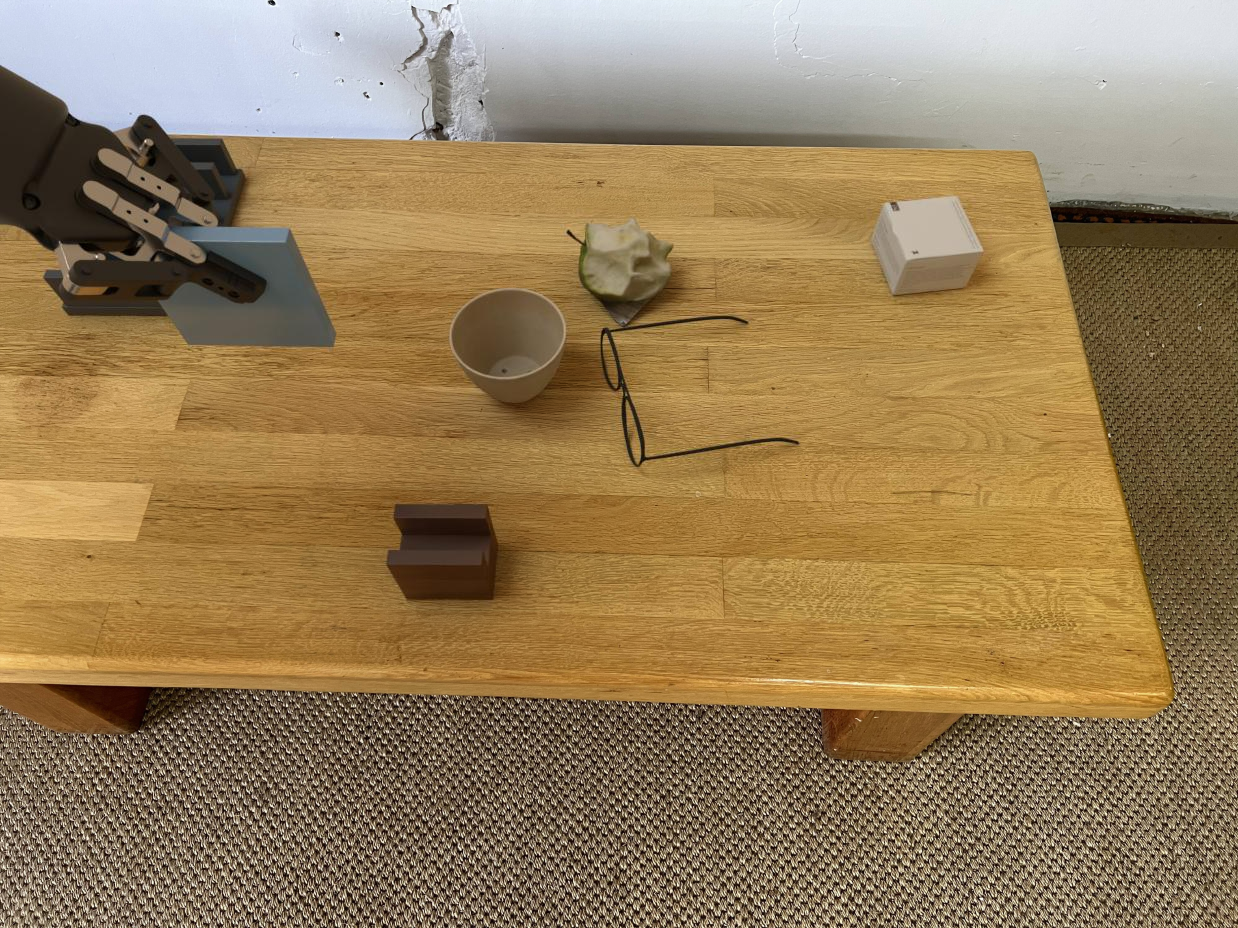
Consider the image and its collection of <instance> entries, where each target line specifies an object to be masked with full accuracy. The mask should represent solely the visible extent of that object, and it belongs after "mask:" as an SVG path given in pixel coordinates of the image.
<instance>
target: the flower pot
mask: <svg viewBox="0 0 1238 928" xmlns="http://www.w3.org/2000/svg"><path fill="white" fill-rule="evenodd" d="M448 334H449V335H448V338H449V346H450V350H451V352H452V354H453V356H454V358H455V361H456V362H457V363H458V366H459V367H460V368H461V370H462V371H463V373H464V374H465V375H466V376H467V378H469V380H470V381H471V382H472V383H473V384H474V385H475V386H476V387H477V388H478V389H479V390H481V391H482V392H484V393H485V394H487V395H489V396H490V397H492V398H494V399H496V400H499V401H501V402H505V403H508V404H509V403H510V404H521V403H524V402H527V401H529V400H532V399H533V398H534V397H536V396H537V395H539V394H540V393H541V392H542V391H543V390H544V389H545V388H546V387H547V386H548V384H549V383H550V382H551V381H552V379H553V377H554V376H555V374H556V372H557V370H558V368H559V366H560V364H561V361H562V358H563V354H564V352H565V347H566V343H567V342H566V341H567V323H566V319H565V317H564V315H563V312H562V311H561V310H560V308H559V306H557V304H556V303H555V302H553V301H552V300H551V299H549V298H548V297H547V296H545V295H543V294H541V293H539V292H537V291H534V290H530V289H528V288H527V289H526V288H521V287H501V288H495V289H492V290H488V291H485V292H483V293H481V294H478V295H477V296H475V297H473V298H472V299H470V300H469V301H467V302H466V303H465V304H464V305H463V306H462V307H461V308H460V309H459V310H458V312H457V313H455V316H454V318H453V319H452V322H451V324H450V328H449V332H448Z"/></svg>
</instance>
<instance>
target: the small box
mask: <svg viewBox="0 0 1238 928" xmlns="http://www.w3.org/2000/svg"><path fill="white" fill-rule="evenodd" d="M870 241H871V244H872V247H873V249H874V251H875V254H876V257H877V260H878V262H879V264H880V267H881V269H882V272H883V275H884V277H885V279H886V281H887V285H888V287H889V290H890V292H891V295H892V296H899V295H900V296H901V295H909V294H918V293H926V292H928V293H929V292H937V291H945V290H957V289H964V288H966V287H967V285H968V283H969V281H970V280H971V277H972V275H973V273H974V272H975V269H976V267H977V266H978V264H979V262H980V260H981V258H982V256H983V253H984V252H985V250H984V248H983V245H982V244H981V241H980V240H979V237H978V236H977V234H976V231H975V229H974V228H973V225H972V223H971V222H970V220H969V217H968V216H967V213H966V211H965V210H964V207H963V205H962V203H961V201H960V199H959V197H958V195H951V196H939V197H930V198H922V199H911V200H902V201H901V200H900V201H890V202H884V203H883V204H882V206H881V210H880V212H879V216H878V219H877V222H876V225H875V227H874V230H873V232H872V236H871V238H870Z"/></svg>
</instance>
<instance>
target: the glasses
mask: <svg viewBox="0 0 1238 928" xmlns="http://www.w3.org/2000/svg"><path fill="white" fill-rule="evenodd" d="M713 320H715V321H716V320H731V321H735V322H738V323H741V324H746V325H748V324H749V322H748V320H746V319H742V318H740V317H737V316H735V315H734V316H733V315H707V316H697V317H691V318H682V319H675V320H666V321H659V322H652V323H645V324H639V325H638V324H637V325H630V326H624V327H619V328H613V329H609V327H607V326H606V327H603V328H602V329H601V332H600V338H599V339H600V343H599V349H600V360H601V367H602V371H603V375H604V378H605V380H606V383H607V385H608V386H609V388H610V389H611V390H612V391H614V392H618V391H620V390H622V397H621V410H620V411H621V422H622V429H623V434H624V440H625V445H626V451H627V453H628V456H629V459H630V461H631V463H632V465H633V466H634V467H636V468H639V467H641V465H643V463H645V462H647V461H653V460H660V459H667V458H674V457H680V456H688V455H693V454H700V453H707V452H711V451H717V450H723V449H729V448H736V447H742V446H749V445H755V444H756V445H757V444H762V443H773V442H774V443H775V442H781V443H789V444H795V445H799V444H800V443H799V440H795V439H791V438H787V437H766V438H757V439H752V440H745V441H739V442H732V443H725V444H720V445H714V446H708V447H702V448H695V449H689V450H685V451H677V452H671V453H666V454H660V455H653V456H646V442H645V441H646V440H645V435H644V432H643V428H642V424H641V422H640V417H639V415H638V413H637V409H636V406H635V405H634V402H633V400H632V397H631V395H630V391H629V389H628V386H627V382H626V380H625V376H624V373H623V370H622V367H621V362H620V357H619V354H618V351H617V350H618V349H617V347H616V344H615V340H614V337H613V336H612V333H617V332H627V331H632V330H640V329H641V330H642V329H648V328H655V327H656V328H657V327H664V326H670V325H678V324H686V323H687V324H688V323H695V322H703V321H704V322H705V321H713ZM605 334H606V337H607V339H608V342H609V345H610V348H611V350H612V354H613V357H614V362H615V366H616V373H617V386H616V387H615V386H614V384H613V383H612V381H611V379H610V376H609V374H608V371H607V365H606V363H605V362H606V361H605V355H604V347H603V346H604V345H603V342H604V336H605ZM627 403H628V406H629V408H630V411H631V414H632V417H633V421H634V423H635V427H636V432H637V436H638V440H639V446H640V458H639V462H638V464H637V462H636V461H635V458H634V455H633V452H632V448H631V444H630V439H629V438H630V437H629V432H628V424H627V423H628V420H627Z"/></svg>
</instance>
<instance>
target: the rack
mask: <svg viewBox="0 0 1238 928" xmlns="http://www.w3.org/2000/svg"><path fill="white" fill-rule="evenodd" d="M170 139H171V140H172V141H173V142H174V143H175V145H176V146H177V147H178V148H179V150H180V151H181V152H182V153H183V154H184V156H185V157H186V158H187V159H188V161H189V162H190V163H191V164H192V165H193V167H194V168H195V169H196V170H197V172H198V173H199V174H200V175H201V176H202V178H203V179H204V180H205V181H206V183H207V184H208V185H209V186H210V187H211V189H212V190H213V192H214V194H215V197H214V199H213V200H212V210H213V214H214V215H215V217H216V218H217V220H218V222H219V223H220V224H222V225H224V226H225V227H232V226H231V225H232V223H233V219H234V216H235V213H236V210H237V206H238V204H239V200H240V198H241V194H242V192H243V188H244V185H245V181H246V178H247V177H246V174H245V173H244V170H243V169H242V168H237V166H236V164H235V162H234V160H233V158H232V156H231V154H230V152H229V150H228V148H227V146H226V143H225V141H224V139H223V138H219V137H218V138H215V137H214V138H213V137H212V138H211V137H209V138H206V137H203V138H202V137H170ZM180 184H181V183H180ZM181 185H182V184H181ZM182 186H183V185H182ZM183 188H184V186H183ZM184 189H185V188H184ZM185 190H186V189H185ZM186 191H187V190H186ZM187 192H188V191H187ZM188 194H189V192H188ZM156 204H157V202H156V201H155V202H154V203H153V205H152V206H151V208H153V207H155V205H156ZM175 218H177V217H175ZM177 219H179V218H177ZM179 220H181V219H179ZM181 221H183V220H181ZM97 253H102V254H103V255H105V257H106V260H118V261H125V260H123V259H121V258H119V257H117V256H115V255H113V254H111V253H109V252H95V253H93V254H97ZM42 279H43V280H44V281H45V283H46V284H48V286H49V287H50V289H52V291H53V292H54V293H55V294H56V295H57V297H58V298H59V299H60V300H61V301H62V305H61V309H62V310H63V311H64V312H65V313H66V315H67V316H151V317H152V316H154V317H155V316H157V317H158V316H164V317H165V316H167V317H169V316H168V315H167V313H166V312H165V310H164V309H163V308H162V306H161V305H160V303H159V302H158V300H139V301H70V300H67V299H65V298H64V297H63V296H62V295H61V294H60V292H59V286H60V284H61V283H62V281H63V274H62V271H61V269H46V270H45V272H44V274H43V277H42Z"/></svg>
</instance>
